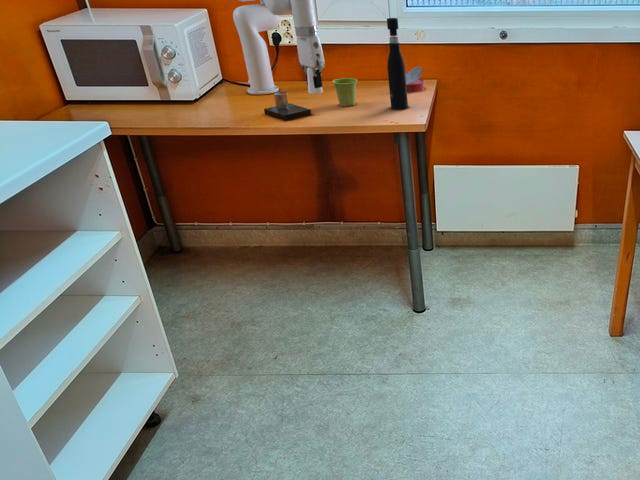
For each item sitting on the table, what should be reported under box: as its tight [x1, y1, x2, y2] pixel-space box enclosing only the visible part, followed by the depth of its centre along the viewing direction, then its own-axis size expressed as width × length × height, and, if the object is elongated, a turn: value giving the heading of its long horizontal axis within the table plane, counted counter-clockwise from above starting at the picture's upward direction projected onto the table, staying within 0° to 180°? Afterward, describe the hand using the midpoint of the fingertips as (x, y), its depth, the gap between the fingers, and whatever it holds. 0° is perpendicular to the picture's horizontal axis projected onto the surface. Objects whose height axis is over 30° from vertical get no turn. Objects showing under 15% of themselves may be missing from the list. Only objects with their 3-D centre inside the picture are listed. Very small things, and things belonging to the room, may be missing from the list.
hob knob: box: [273, 91, 289, 109], centre depth 234 cm, size 4×4×5 cm
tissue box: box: [405, 66, 425, 93], centre depth 263 cm, size 11×10×10 cm
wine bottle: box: [386, 17, 409, 111], centre depth 232 cm, size 6×6×30 cm
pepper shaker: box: [307, 67, 324, 95], centre depth 234 cm, size 5×5×11 cm
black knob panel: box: [263, 102, 312, 122], centre depth 234 cm, size 14×11×2 cm
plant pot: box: [331, 77, 358, 107], centre depth 243 cm, size 9×9×9 cm
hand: (314, 86), depth 236 cm, fingers closed on pepper shaker, 3 cm apart
